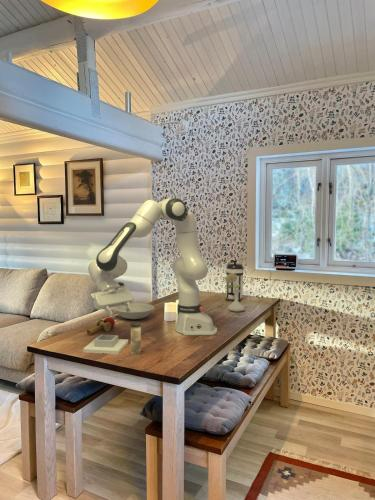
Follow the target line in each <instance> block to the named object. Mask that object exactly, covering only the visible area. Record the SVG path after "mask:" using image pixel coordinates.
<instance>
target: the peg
mask: <svg viewBox="0 0 375 500" xmlns="http://www.w3.org/2000/svg"><path fill="white" fill-rule="evenodd" d="M141 353H142V322H141V321H131V322H130V354H131V355H133V356H137V355H141Z"/></svg>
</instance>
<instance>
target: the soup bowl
mask: <svg viewBox="0 0 375 500" xmlns="http://www.w3.org/2000/svg"><path fill="white" fill-rule="evenodd" d="M125 309H126V306H125V305H121V306H116V307H113V311H116V312H117V314H118V315H119V316H121V318H124V319H127V320H139V319H144V318H146V317H147V316H149V315H150V313H152V311H154V310H155V306H154V305H152V304H150V303H145V302H143V303H142V302H132V303H131V304H130V309H131V311H130V312H126V310H125Z"/></svg>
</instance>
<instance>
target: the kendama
mask: <svg viewBox="0 0 375 500" xmlns="http://www.w3.org/2000/svg"><path fill="white" fill-rule="evenodd" d="M115 324H116V322H115V319H114V318H113V317H112V316H110V317H106V318H105V319H104V320H103V319H98V320H97V321H96V323H95V326H94V327H91V328H89V329H87V330H86V334H87V335H88V336H92V334H95V333H96V332H98V331H99V330H100V329H102V328H103V330H104V331H105V332H109V331H110V330H111V329H112V328H114V326H115Z"/></svg>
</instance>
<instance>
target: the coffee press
mask: <svg viewBox="0 0 375 500" xmlns="http://www.w3.org/2000/svg"><path fill="white" fill-rule="evenodd" d="M225 267H226V268H225V269H226V274H225V275H226V276H227V275H228V274H230V273H231V274H232V273H234V275H235V274H236V275H237V279H236V280H235V282H233V283H229V282H226V285H225V286H226V287H225V288H226V292H225V294H226V295H225V296H226V298H225V301H226V302H229V300H233V301H234V300H235V295H234V291H233V290H235V289H237V290H240V292H239V294H238V301H239V303H241V302H242V300H243V299H244V298H243V289H244V288H243V285H244V284H243V283H244V269H245V267H244V265H243V264H242V263H237V260H236V259H234V260H233V263H229V264H227V266H225ZM229 285H232V286H234V287H236V286H238V285H240V287H239V288H234V287H232V288H227V286H229Z"/></svg>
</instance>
